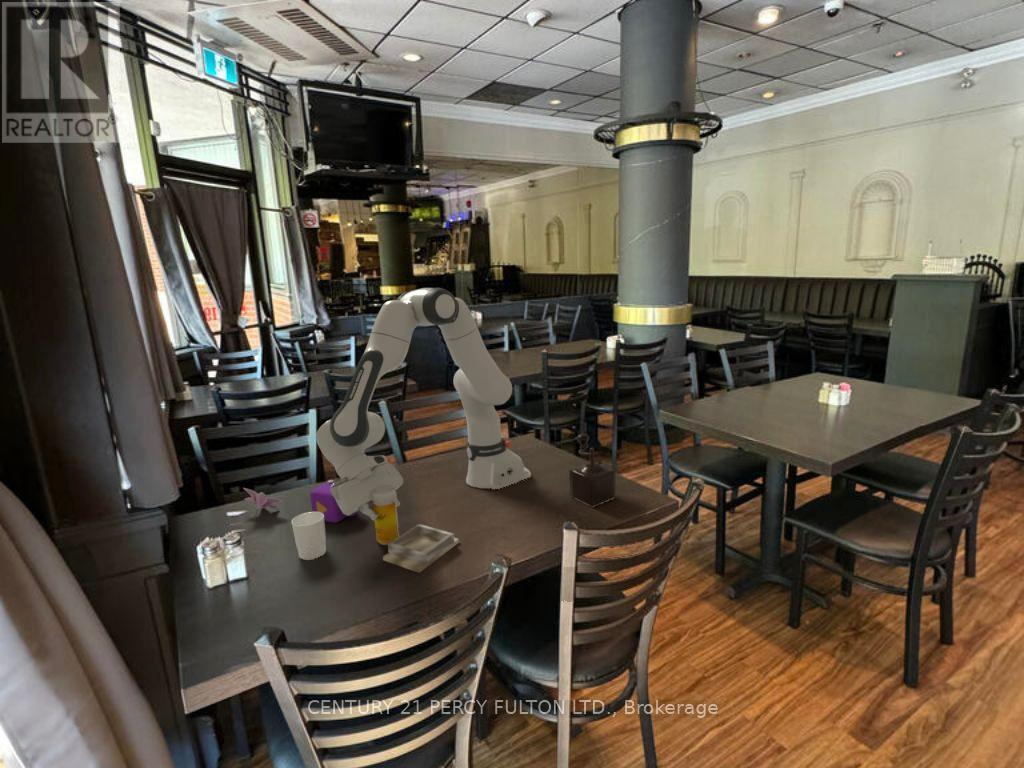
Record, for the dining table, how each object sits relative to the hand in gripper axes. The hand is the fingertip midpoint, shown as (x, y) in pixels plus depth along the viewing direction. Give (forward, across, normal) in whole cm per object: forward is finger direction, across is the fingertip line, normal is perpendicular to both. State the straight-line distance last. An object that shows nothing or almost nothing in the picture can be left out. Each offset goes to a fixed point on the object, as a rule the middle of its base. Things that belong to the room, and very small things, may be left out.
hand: (387, 512), depth 140 cm
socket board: (+14, 0, -2) cm, 14 cm away
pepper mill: (+32, +50, -20) cm, 62 cm away
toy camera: (-11, +4, +23) cm, 26 cm away
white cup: (-4, -14, +16) cm, 22 cm away
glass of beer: (+6, 0, +6) cm, 9 cm away
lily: (-26, -6, +39) cm, 47 cm away
